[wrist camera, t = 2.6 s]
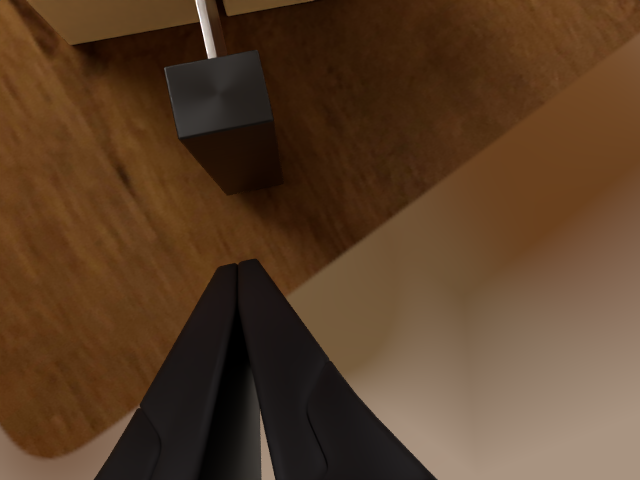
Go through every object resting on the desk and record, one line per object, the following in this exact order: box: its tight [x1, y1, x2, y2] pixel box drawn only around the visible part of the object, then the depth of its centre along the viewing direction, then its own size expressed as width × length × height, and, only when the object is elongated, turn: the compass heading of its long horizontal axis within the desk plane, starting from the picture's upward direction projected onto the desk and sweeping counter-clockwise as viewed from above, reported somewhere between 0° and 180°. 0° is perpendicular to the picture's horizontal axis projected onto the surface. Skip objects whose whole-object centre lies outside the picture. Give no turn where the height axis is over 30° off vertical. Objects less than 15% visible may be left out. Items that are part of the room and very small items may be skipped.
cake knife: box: [164, 0, 284, 195], centre depth 17 cm, size 10×3×8 cm, turn 13°
